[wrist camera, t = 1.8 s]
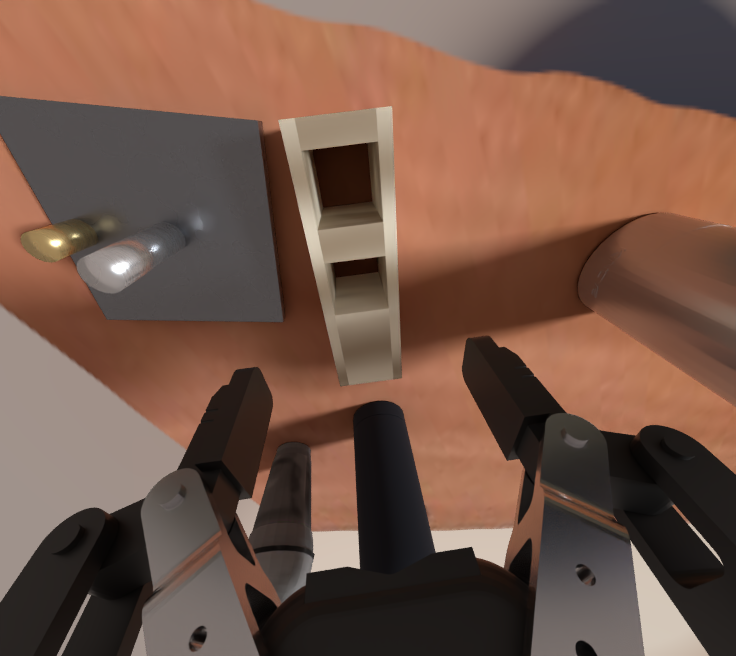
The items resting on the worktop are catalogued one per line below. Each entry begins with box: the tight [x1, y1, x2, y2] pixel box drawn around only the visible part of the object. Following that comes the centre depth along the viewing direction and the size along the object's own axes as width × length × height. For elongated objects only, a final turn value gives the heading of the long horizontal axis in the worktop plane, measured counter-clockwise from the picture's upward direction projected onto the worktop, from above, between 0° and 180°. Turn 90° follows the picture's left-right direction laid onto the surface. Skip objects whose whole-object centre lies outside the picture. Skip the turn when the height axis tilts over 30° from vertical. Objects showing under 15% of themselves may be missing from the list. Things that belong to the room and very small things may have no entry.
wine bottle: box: [353, 401, 436, 574], centre depth 22 cm, size 6×6×30 cm
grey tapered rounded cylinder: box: [249, 442, 314, 603], centre depth 28 cm, size 7×7×20 cm
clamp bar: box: [279, 106, 402, 386], centre depth 19 cm, size 17×5×6 cm, turn 6°
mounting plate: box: [0, 96, 285, 322], centre depth 16 cm, size 14×14×8 cm
